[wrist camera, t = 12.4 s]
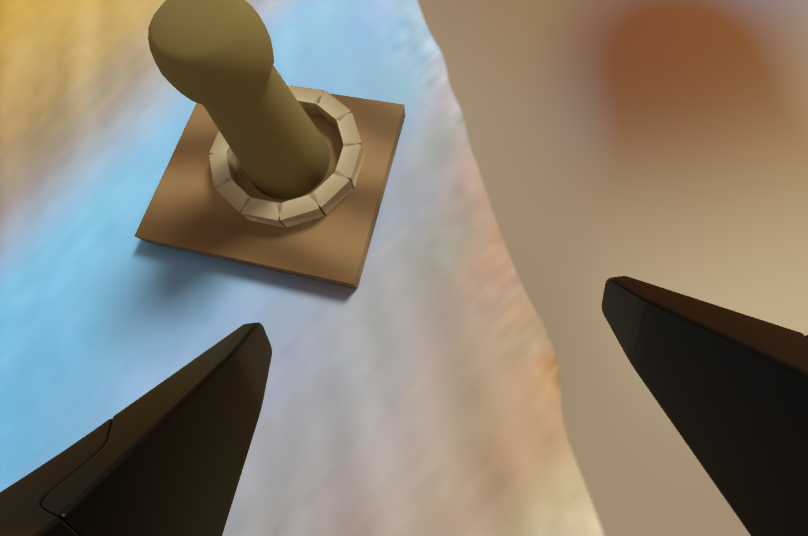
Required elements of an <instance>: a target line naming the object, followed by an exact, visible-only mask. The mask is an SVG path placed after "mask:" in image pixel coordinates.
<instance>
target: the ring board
mask: <svg viewBox="0 0 808 536" xmlns="http://www.w3.org/2000/svg"><path fill="white" fill-rule="evenodd" d="M288 88H289V87H288ZM289 89H290V90H291V92H292V93H293V95H294V96H295V98H296V99H297V101H298V102H299V103H300V105H301V106H302V108H303V109H304V111H305V112H306V114H307V115H308V116H309V118H310V119H311V121H312V122H313V124H314V125H315V126H316V128H317V129H318V131H319V132H320V134H321V135H322V137H323V138H324V140H325V141H326V143H327V145H328V147H329V151H330V158H331V159H330V164H329V169H328V172H327V173H326V175H325V177H324V178H323V180H322V182H321V183H319V184H318V185H317V186H316V187H315V188H314V189H313V190H312V191H310V192H308V193H306V194H304V195H302V196H300V197H296V198H291V199H277V198H272V197H270V196H267V195H265V194H263V193H261V192H260V191H259V190H258V189H257V188H256V187H255V186H254V185H253V183H252V182H251V180H250V178H249V177H248V175H247V174H246V172H245V170H244V169H243V167H242V166H241V164H240V163H239V161H238V159H237V158H236V156H235V155H234V153H233V152H232V150H231V148H230V147H229V145H228V144H227V142H226V140H225V139H224V137H223V136H222V134H221V133H220V131H219V129H218V128H217V126H216V125H215V123H214V122H213V120H212V118H211V117H210V115H209V114H208V112H207V111H206V109H205V107H204V106H203V105H202V104H199V103H196V105H195V108H194V110H193V112H192V114H191V116H190V118H189V120H188V123H187V125H186V127H185V129H184V131H183V133H182V136H181V138H180V140H179V142H178V144H177V146H176V148H175V151H174V153H173V155H172V157H171V159H170V161H169V163H168V166H167V168H166V170H165V172H164V174H163V176H162V178H161V181H160V183H159V185H158V187H157V189H156V191H155V193H154V196H153V198H152V200H151V202H150V204H149V206H148V208H147V211H146V213H145V215H144V217H143V219H142V221H141V223H140V226H139V228H138V230H137V232H136V234H135V237H137V238H140V239H142V240H144V241H146V242H149V243H153V244H158V245H162V246H167V247H172V248H176V249H181V250H185V251H190V252H194V253H199V254H203V255H208V256H212V257H217V258H221V259H226V260H231V261H235V262H240V263H244V264H249V265H253V266H258V267H262V268H267V269H271V270H276V271H280V272H285V273H289V274H294V275H299V276H303V277H308V278H312V279H317V280H321V281H326V282H330V283H335V284H339V285H344V286H348V287H353V288H358V285H359V281H360V277H361V274H362V270H363V267H364V263H365V259H366V256H367V252H368V248H369V245H370V241H371V238H372V234H373V230H374V227H375V223H376V219H377V216H378V212H379V209H380V205H381V201H382V198H383V194H384V191H385V187H386V183H387V180H388V176H389V172H390V169H391V165H392V162H393V158H394V154H395V151H396V147H397V143H398V140H399V136H400V133H401V129H402V125H403V122H404V118H405V109H404V105H402V104H395V103H389V102H382V101H375V100H369V99H362V98H355V97H349V96H342V95H335V94H329V93H328V92H324V90H318V89H311V88H305V87H298V86H291V85H290V88H289Z"/></svg>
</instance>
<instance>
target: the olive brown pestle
mask: <svg viewBox="0 0 808 536" xmlns="http://www.w3.org/2000/svg"><path fill="white" fill-rule="evenodd" d="M148 40H149V45H150V51H151V53H152V55H153V58H154V60H155V62H156V64H157V66H158V68H159V70H160V72H161V73H162V75H163V76H164V77H165V78H166V79H167V80H168V81H169V82H170V83H171V84H172V85H173V86H174V87H175V88H176V89H177V90H178V91H179V92H180V93H182V94H183V95H184V96H186V97H187V98H189V99H190V100H192V101H194V102H197V103H199V104H202V105H203V106H204V107H205V109H206V111H207V112H208V114H209V115H210V117H211V118H212V120H213V122H214V123H215V125H216V126H217V128H218V129H219V131H220V133H221V134H222V136H223V137H224V139H225V140H226V142H227V144H228V145H229V147H230V148H231V150H232V152H233V153H234V155H235V156H236V158H237V159H238V161H239V163H240V164H241V166H242V167H243V169H244V170H245V172H246V174H247V175H248V177H249V178H250V180H251V182H252V183H253V185H254V186H255V187H256V188H257V189H258V190H259V191H260V192H261V193H263V194H265V195H267V196H270V197H272V198H277V199H291V198H296V197H300V196H302V195H304V194H306V193H308V192H310V191H312V190H313V189H314V188H315V187H316V186H317V185H318V184H319V183H321V182H322V180H323V178H324V177H325V175H326V173H327V172H328V169H329V164H330V159H331V158H330V151H329V147H328V145H327V143H326V141H325V140H324V138H323V137H322V135H321V134H320V132H319V131H318V129H317V128H316V126H315V125H314V124H313V122H312V121H311V119H310V118H309V116H308V115H307V114H306V112H305V111H304V109H303V108H302V106H301V105H300V103H299V102H298V101H297V99H296V98H295V96H294V95H293V93H292V92H291V90H290V89H289V88H288V86H287V85H286V83H285V82H284V80H283V79H282V78H281V76H280V75H279V73H278V72H277V70H276V69H275V67H274V66H273V63H274V58H273V49H272V44H271V38H270V36H269V34H268V31H267V29H266V27H265V25H264V23H263V22H262V20H261V18H260V16H259V15H258V13H257V12H256V11H255V10H254V8H253V7H252V6H251V5H250V4H249V3H248V2H246V1H245V0H166V1H165V2H164V3H163V4H162V5H161V7H160V8H159V9H158V10H157V12H156V13H155V14H154V16H153V18H152V21H151V23H150V25H149V36H148Z"/></svg>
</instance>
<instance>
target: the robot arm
mask: <svg viewBox="0 0 808 536" xmlns="http://www.w3.org/2000/svg"><path fill="white" fill-rule="evenodd" d="M602 311H603V314H604V316H605V318H606V319H607V321H608V323H609V325H610V327H611V329H612V330H613V332H614V334H615V336H616V338H617V340H618V341H619V343H620V345H621V347H622V348H623V351H624V352H625V354H626V356H627V358H628V359H629V361H630V363H631V364H632V366H633V367H634V369H635V370H636V372H637V373H638V374H639V376H640V377H641V379H642V380H643V382H644V383H645V385H646V386H647V387H648V389H649V390H650V392H651V393H652V395H653V396H654V398H655V399H656V400H657V402H658V403H659V405H660V406H661V408H662V409H663V410H664V412H665V413H666V415H667V416H668V418H669V419H670V420H671V422H672V423H673V425H674V426H675V427H676V429H677V430H678V432H679V433H680V435H681V436H682V438H683V439H684V440H685V442H686V443H687V445H688V446H689V448H690V449H691V450H692V452H693V453H694V455H695V456H696V458H697V459H698V460H699V462H700V463H701V465H702V466H703V468H704V469H705V471H706V472H707V473H708V475H709V476H710V478H711V479H712V480H713V482H714V483H715V485H716V486H717V488H718V489H719V491H720V492H721V493H722V495H723V496H724V498H725V499H726V501H727V502H728V503H729V505H730V506H731V508H732V509H733V511H734V512H735V513H736V515H737V516H738V518H739V519H740V521H741V522H742V523H743V525H744V526H745V528H746V529H747V531H748V532H749V533H750V535H751V536H808V335H806V336H804V335H803V334H802V333H800V332H796V331H793V330H791V329H787V328H784V327H781V326H778V325H775V324H772V323H769V322H766V321H763V320H760V319H757V318H754V317H750V316H747V315H744V314H741V313H738V312H735V311H732V310H729V309H725V308H723V307H719V306H717V305H713V304H710V303H707V302H704V301H701V300H698V299H695V298H692V297H689V296H685V295H682V294H680V293H676V292H673V291H670V290H667V289H664V288H661V287H658V286H655V285H652V284H649V283H646V282H642V281H639V280H636V279H633V278H630V277H627V276H620V277H613V278H609V279H608V280H607V281H606V284H605V289H604V295H603V300H602ZM271 356H272V348H271V345H270V342H269V340H268V337H267V335H266V332H265V330H264V327H263V326H262V324H260V323H250V324H244V325H242V326H241V327H240V328H238V329H237V330H235V331H234V332H232V333H231V334H230V335H228V336H227V337H225V338H224V339H223V340H221V341H220V342H218V343H217V344H215V345H214V346H213V347H211V348H210V349H208V350H207V351H206V352H204V353H203V354H201V355H200V356H198V357H197V358H196V359H194V360H193V361H191V362H190V363H189V364H187V365H186V366H184V367H183V368H181V369H180V370H179V371H177V372H176V373H174V374H173V375H172V376H170V377H169V378H167V379H166V380H164V381H163V382H162V383H160V384H159V385H157V386H156V387H155V388H153V389H152V390H150V391H149V392H147V393H146V394H145V395H143V396H142V397H140V398H139V399H138V400H136V401H135V402H133V403H132V404H131V405H129V406H128V407H126V408H125V409H123V410H122V411H121V412H119V413H118V414H116V415H115V416H114V417H113V419H109V420H108V421H106V422H105V423H103V424H102V425H101V426H99V427H98V428H96V429H95V430H94V431H92V432H91V433H89V434H88V435H86V436H85V437H83V438H82V439H81V440H79V441H78V442H76V443H75V444H73V445H72V446H70V447H69V448H67V449H66V450H65V451H63V452H62V453H60V454H59V455H57V456H56V457H54V458H52V459H51V460H49V461H48V462H46V463H45V464H43V465H42V466H40V467H39V468H37V469H36V470H34V471H33V472H31V473H30V474H28V475H27V476H25V477H23V478H22V479H20V480H19V481H17V482H16V483H14V484H13V485H11V486H9V487H8V488H6V489H5V490H3V491H2V492H0V536H222V534H223V531H224V527H225V524H226V521H227V518H228V515H229V511H230V508H231V505H232V502H233V498H234V495H235V492H236V489H237V486H238V482H239V479H240V476H241V473H242V469H243V466H244V463H245V460H246V457H247V453H248V450H249V447H250V444H251V440H252V437H253V434H254V431H255V428H256V424H257V421H258V418H259V415H260V411H261V407H262V403H263V399H264V393H265V388H266V383H267V377H268V372H269V367H270V362H271Z"/></svg>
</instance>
